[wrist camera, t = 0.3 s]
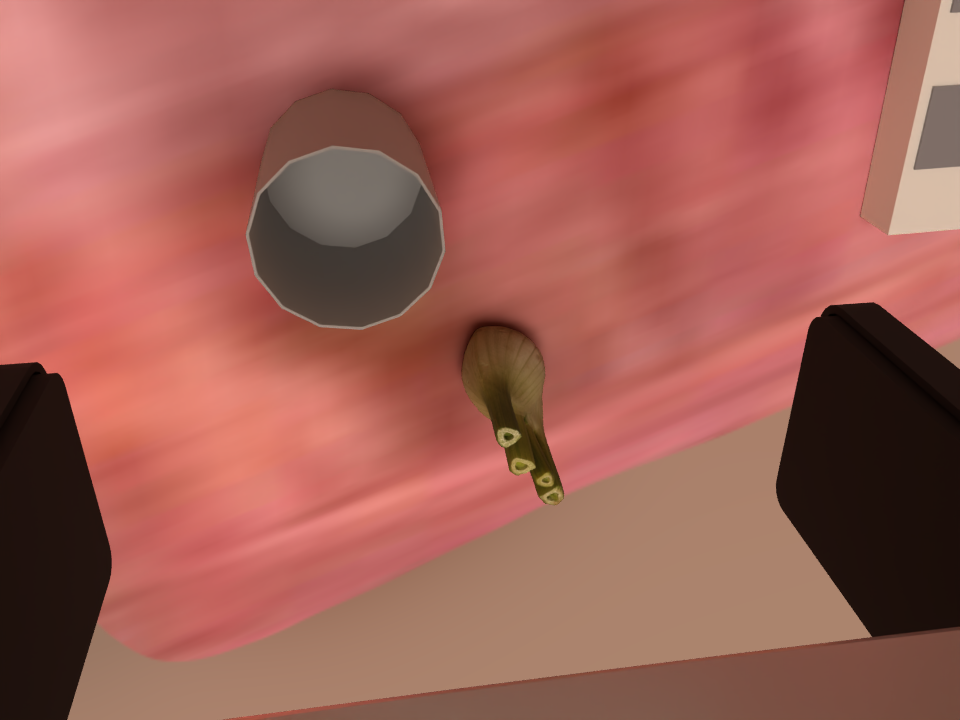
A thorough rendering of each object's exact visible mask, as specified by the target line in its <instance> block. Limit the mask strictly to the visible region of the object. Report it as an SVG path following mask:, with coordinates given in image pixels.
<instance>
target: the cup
mask: <svg viewBox="0 0 960 720" xmlns="http://www.w3.org/2000/svg"><path fill="white" fill-rule="evenodd" d="M246 238H247V243H248V247H249V252H250V256H251V261H252V265H253V269H254V274H255V276H256V277H257V279H258V280H259V281H260V282H261V284H262V285H263V286H264V287H265V288H266V290H267V291H268V292H269V293H270V295H271V296H272V297H273V298H274V299H275V301H276V302H277V303H278V304H279V306H280V307H281V308H282V309H284V310H286V311H288V312H290V313H292V314H294V315H296V316H298V317H300V318H303V319H305V320H307V321H309V322H311V323H313V324H315V325H317V326H319V327H328V328H344V329H360V330H362V329H365V328H368V327H371V326H374V325H377V324H379V323H382V322H385V321H388V320H391V319H394V318H397V317H400V316H402V315H403V314H404V313H405V312H406V311H407V310H408V309H409V308H410V307H411V306H412V305H413V304H415V303H416V302H417V301H418V300H419V299H420V298H421V297H422V296H423V295H424V294H425V293H426V292H427V291H428V290H430V289H431V287H432V284H433V281H434V279H435V276H436V274H437V271H438V269H439V266H440V264H441V261H442V258H443V256H444V253H445V242H444V232H443V222H442V212H441V208H440V205H439V202H438V199H437V196H436V193H435V189H434V186H433V183H432V180H431V177H430V174H429V171H428V168H427V165H426V162H425V159H424V156H423V153H422V150H421V147H420V144H419V142H418V141H417V139H416V138H415V136H414V134H413V133H412V131H411V130H410V128H409V126H408V125H407V123H406V122H405V120H404V119H403V117H402V115H401V114H400V113H399V112H397V111H396V110H394V109H393V108H391V107H389V106H388V105H386V104H385V103H383V102H381V101H380V100H378V99H377V98H375V97H374V96H372V95H370V94H369V93H361V92H353V91H344V90H336V89H329V90H326V91H323V92H321V93H318V94H315V95H312V96H309V97H307V98H304V99H301V100H298V101H295V102H294V104H293V105H292V106H291V107H290V108H289V109H288V110H287V111H286V112H285V113H284V114H283V115H282V116H281V117H280V118H279V119H278V121H277V122H276V123H275V124H274V125H273V126H272V127H271V128H270V132H269V135H268V139H267V142H266V146H265V150H264V153H263V157H262V160H261V164H260V169H259V174H258V179H257V183H256V188H255V193H254V198H253V202H252V207H251V212H250V216H249V221H248V226H247V231H246Z"/></svg>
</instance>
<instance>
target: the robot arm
mask: <svg viewBox="0 0 960 720" xmlns="http://www.w3.org/2000/svg"><path fill="white" fill-rule="evenodd" d="M776 493H777V498H778V501H779V504H780V506H781V508H782V510H783V511H784V513H785V514H786V515H787V517H788V518H789V520H790V521H791V523H792V524H793V525H794V527H795V528H796V530H797V531H798V532H799V534H800V535H801V537H802V538H803V540H804V541H805V542H806V544H807V545H808V547H809V548H810V549H811V550H812V552H813V554H814V555H815V556H816V558H817V559H818V561H819V562H820V564H821V565H822V566H823V568H824V569H825V571H826V572H827V574H828V575H829V576H830V578H831V579H832V581H833V582H834V583H835V585H836V586H837V588H838V589H839V590H840V592H841V593H842V595H843V596H844V598H845V599H846V600H847V602H848V603H849V605H850V606H851V607H852V609H853V610H854V612H855V613H856V615H857V616H858V617H859V619H860V620H861V622H862V623H863V625H864V626H865V627H866V629H867V630H868V632H869V633H870V634H871V636H872V637H870V638H861V639H853V640H846V641H837V642H829V643H820V644H812V645H803V646H795V647H787V648H778V649H771V650H762V651H754V652H745V653H737V654H729V655H721V656H713V657H705V658H697V659H689V660H682V661H673V662H666V663H657V664H649V665H641V666H633V667H625V668H617V669H609V670H601V671H593V672H585V673H577V674H570V675H561V676H554V677H546V678H538V679H530V680H522V681H514V682H507V683H499V684H491V685H483V686H476V687H468V688H459V689H451V690H443V691H436V692H428V693H421V694H413V695H406V696H399V697H390V698H383V699H375V700H368V701H360V702H352V703H346V704H337V705H330V706H323V707H315V708H307V709H299V710H292V711H284V712H277V713H269V714H262V715H254V716H247V717H239V718H232V719H224V720H960V369H959V368H957V367H956V366H955V365H954V364H952V363H951V362H950V361H949V360H947V359H946V358H945V357H943V356H942V355H941V354H940V353H939V352H937V351H936V350H935V349H934V348H932V347H931V346H930V345H929V344H927V343H926V342H925V341H924V340H922V339H921V338H920V337H919V336H917V335H916V334H915V333H914V332H912V331H911V330H910V329H909V328H907V327H906V326H905V325H903V324H902V323H901V322H900V321H898V320H897V319H896V318H895V317H893V316H892V315H891V314H890V313H888V312H887V311H886V310H885V309H883V308H882V307H881V306H880V305H878V304H876V303H874V302H873V303H857V304H843V305H830V306H829V307H827V308H826V309H825V310H824V311H823V313H822V314H821V317H816V318H815V319H813V321H812V322H811V324H810V326H809V329H808V334H807V339H806V343H805V348H804V353H803V357H802V362H801V367H800V372H799V376H798V381H797V386H796V391H795V395H794V400H793V405H792V409H791V414H790V419H789V424H788V428H787V433H786V438H785V443H784V447H783V452H782V457H781V462H780V466H779V471H778V476H777V481H776ZM111 568H112V558H111V550H110V545H109V542H108V538H107V534H106V531H105V527H104V524H103V520H102V516H101V513H100V509H99V506H98V502H97V498H96V495H95V491H94V488H93V484H92V480H91V477H90V473H89V470H88V466H87V462H86V459H85V455H84V452H83V448H82V444H81V441H80V437H79V434H78V430H77V426H76V423H75V419H74V416H73V412H72V409H71V405H70V401H69V398H68V394H67V391H66V387H65V384H64V381H63V379H62V377H61V376H60V375H59V374H58V373H51V374H47V373H46V371H45V369H44V368H43V366H42V365H41V364H39V363H38V362H35V363H21V364H7V365H0V720H67V719H68V715H69V712H70V709H71V705H72V702H73V699H74V695H75V692H76V689H77V686H78V682H79V679H80V676H81V672H82V669H83V666H84V662H85V659H86V656H87V653H88V649H89V646H90V643H91V639H92V636H93V633H94V630H95V626H96V623H97V620H98V617H99V613H100V610H101V607H102V603H103V600H104V597H105V593H106V590H107V587H108V584H109V580H110V576H111Z"/></svg>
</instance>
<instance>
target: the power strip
mask: <svg viewBox="0 0 960 720" xmlns="http://www.w3.org/2000/svg"><path fill="white" fill-rule="evenodd" d="M860 217H862V218H863V219H865V220H866V221H868V222H869V223H871V224H872V225H874V226H875V227H877V228H878V229H880V230H881V231H882V232H884V233H885V234H887V235H897V234H908V233H920V232H931V231H943V230H955V229H960V0H905V2H904V7H903V12H902V17H901V22H900V27H899V31H898V36H897V41H896V46H895V51H894V55H893V60H892V65H891V70H890V75H889V80H888V84H887V89H886V94H885V99H884V104H883V109H882V113H881V118H880V123H879V128H878V133H877V137H876V142H875V147H874V152H873V157H872V162H871V166H870V171H869V176H868V181H867V186H866V191H865V195H864V200H863V205H862V210H861V215H860Z"/></svg>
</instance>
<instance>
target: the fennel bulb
mask: <svg viewBox="0 0 960 720" xmlns="http://www.w3.org/2000/svg"><path fill="white" fill-rule="evenodd" d="M464 354H465V355H464V359H463V364H462V381H463V385H464V388H465V391H466V393H467V395H468V396H469V398H470V400H471V401H472V403H473V404H474V405H475V406H476V407H477V408H478V410H479V411H480V412H481V413H482V414H483V415H485V416H486V417H487V418H489V419H490V420H491V421H492V424H493V429H494V433H495V436H496V440H497V442H498V444H499V445H500V446H501V447H504V449H505V453H506V457H507V462H508V466H509V470H510V472H512V473H513V474H515V475H520V474H523V473H527V472H529V471H530V473H531V476H532V479H533V482H534V484H535V488H536V491H537V494H538V496H539V498H540V499H541V500H542V501H543V502H544V503H545V504H550V505H557V504H559V503H560V502H561V501H562V500H563V499H564V491H563V487H562V484H561V481H560V478H559V475H558V472H557V469H556V466H555V464H554V461H553V458H552V455H551V452H550V449H549V446H548V444H547V440H546V437H545V433H544V427H543V407H542V406H543V403H542V393H543V385H544V379H545V366H544V361H543V357H542V355H541V353H540V351H539V349H538V348H537V347H536V346H535V344H534V343H533V342H532V341H531V340H530V339H529V338H528V337H526V336H525V335H524V334H522V333H520V332H518V331H515V330H512V329H510V328H507V327H503V326H486V327H481V328H479V329H477V330H476V331H475V332H474V334H473V335H472V337H471V339H470V341H469V343H468V346H467V349H466V351H465V353H464Z"/></svg>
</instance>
